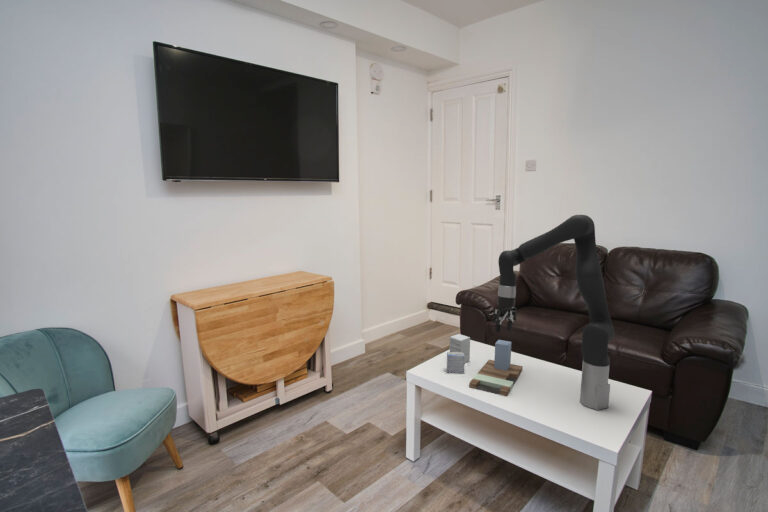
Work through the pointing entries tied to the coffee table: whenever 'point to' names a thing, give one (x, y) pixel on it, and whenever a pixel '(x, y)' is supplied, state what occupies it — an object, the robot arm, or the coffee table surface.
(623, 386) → the coffee table surface
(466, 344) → the supplement box
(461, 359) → the medicine box
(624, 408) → the coffee table surface
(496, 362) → the block
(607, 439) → the coffee table surface
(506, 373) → the deck
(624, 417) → the coffee table surface
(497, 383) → the pad
